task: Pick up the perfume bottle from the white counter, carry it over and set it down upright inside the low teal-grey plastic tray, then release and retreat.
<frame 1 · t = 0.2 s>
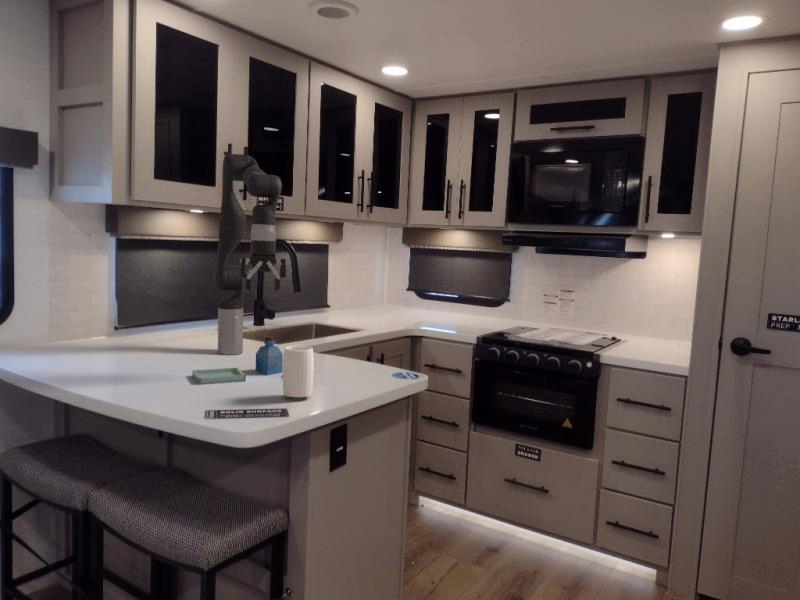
hand: (262, 291, 188), 28 cm above the worktop, fingers open, 8 cm apart
perfume bottle: (268, 373, 199), on the worktop
tray: (218, 378, 187), on the worktop
cup: (297, 398, 168), on the worktop
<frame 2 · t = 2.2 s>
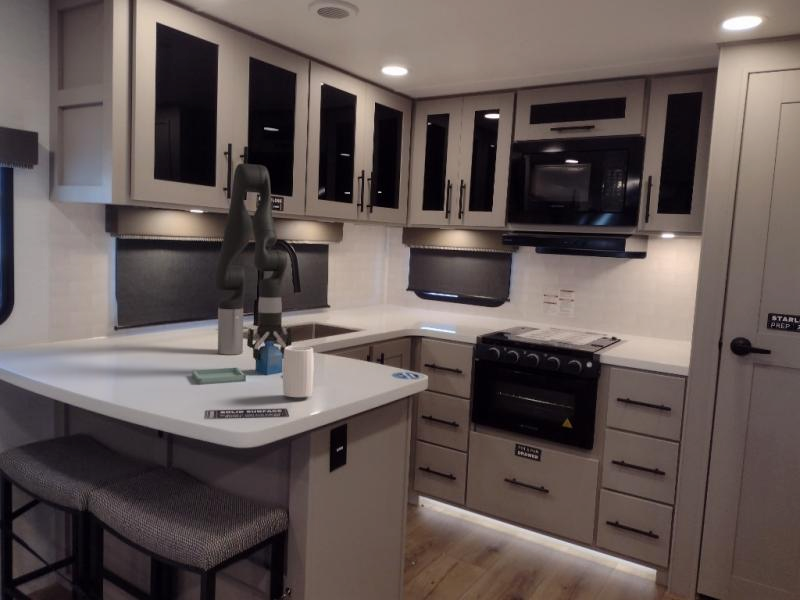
hand: (269, 359, 198), 4 cm above the worktop, fingers open, 8 cm apart
nothing on the worktop moved.
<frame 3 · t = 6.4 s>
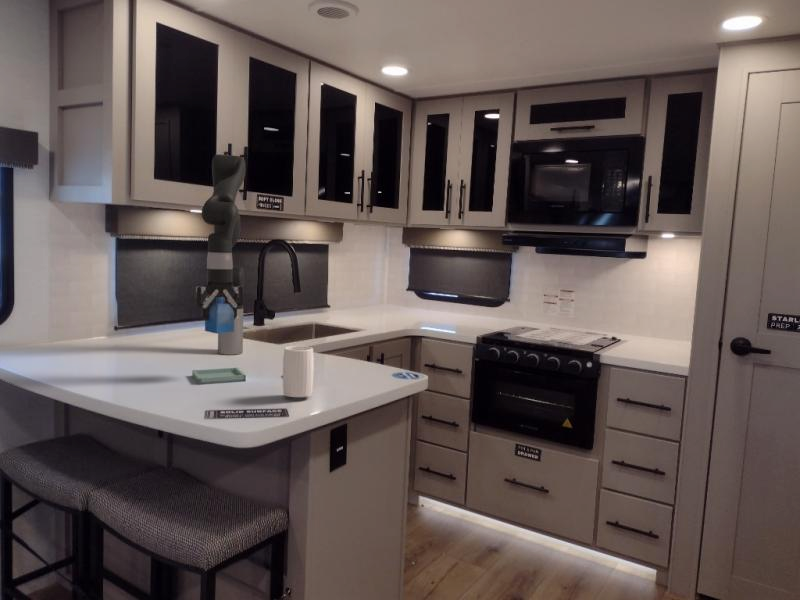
hand: (219, 319, 186), 19 cm above the worktop, fingers closed on perfume bottle, 8 cm apart
perfume bottle: (219, 331, 186), point 15 cm above the worktop, touching gripper
everything else where it was.
when the fingers open (5 cm above the worktop, at t = 9.8 s): perfume bottle stays where it is, resting on tray.
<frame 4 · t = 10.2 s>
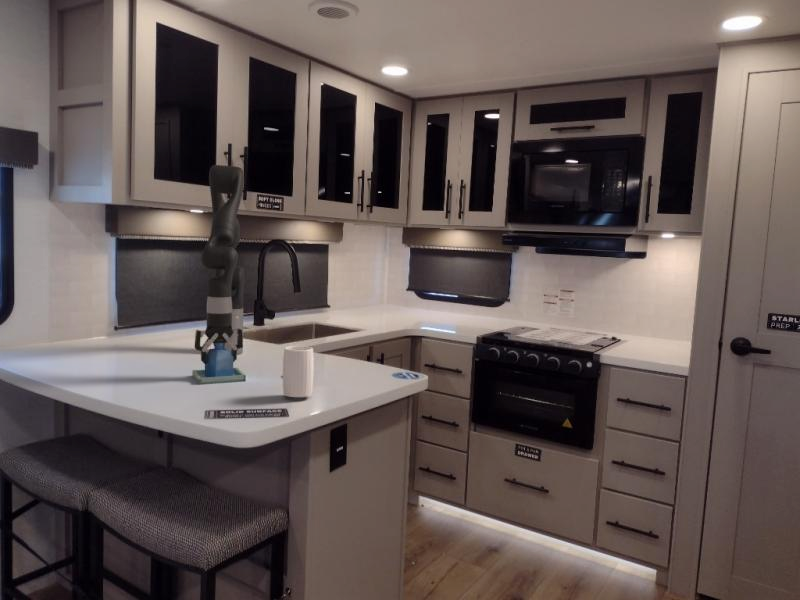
hand: (218, 362, 187), 5 cm above the worktop, fingers open, 8 cm apart
perfume bottle: (219, 377, 187), resting on tray
everything else where it was.
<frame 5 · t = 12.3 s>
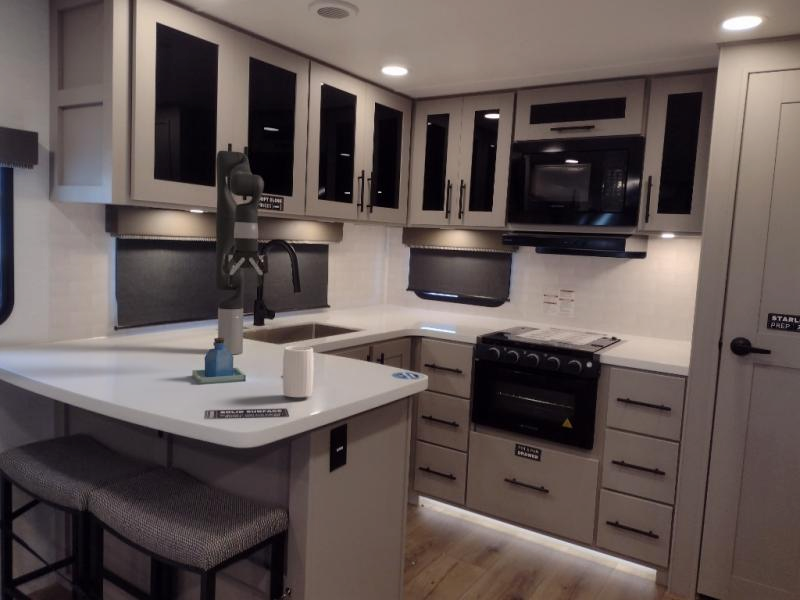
hand: (245, 286, 196), 28 cm above the worktop, fingers open, 8 cm apart
nothing on the worktop moved.
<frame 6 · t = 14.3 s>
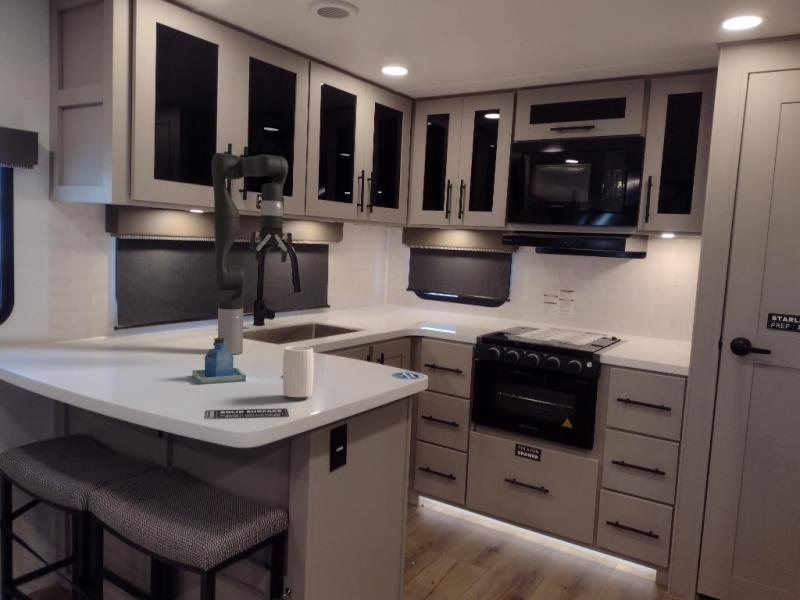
hand: (270, 262, 206), 36 cm above the worktop, fingers open, 8 cm apart
nothing on the worktop moved.
at the end: perfume bottle inside the target area on the tray (0.1 cm from its centre), point 0.4 cm above the tray's base; perfume bottle tilted 0°; the gripper is holding nothing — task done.
